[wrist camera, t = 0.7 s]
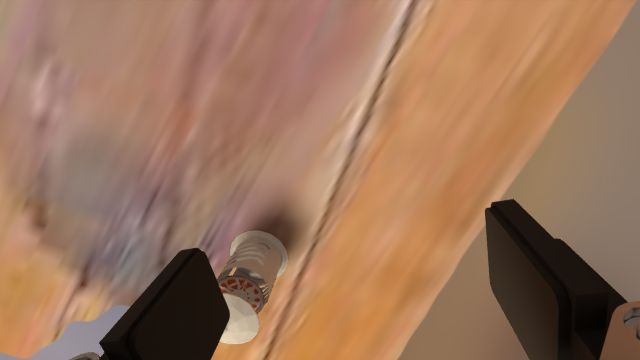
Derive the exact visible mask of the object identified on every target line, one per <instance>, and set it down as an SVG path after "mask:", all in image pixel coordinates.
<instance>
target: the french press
mask: <svg viewBox="0 0 640 360" xmlns="http://www.w3.org/2000/svg"><path fill="white" fill-rule="evenodd" d="M230 255H231V258H230V259H229V261H228V262H227V264H226V266H225V267H224V269H223V270H222V272H221V274H220V275H219V277H218V279H217V282H218V284H219V286H220V289H221V291H222V294H223V296H224V298H225V301H226V303H227V305H228V308H229V311H230V319H229V322H228V324H227V326H226V328H225V330H224V333H223V335H222V337H221V339H220V342H223V343H227V344H242V343H245V342H247V341H250V340H251V339H252V338H253V337H254V336H255V335H256V334H257V332H258V328H259V320H258V316H257V314H258V313H259V312H260V311H261V310H262V308H263V306H264V305H265V304H266V303H267V302H268V299H269V296H270V294H271V291H272V288H273V286H274V282H275V280H276V277H279V276H280V275H281V274H282V273H283V272H284V271H285V270H286V267H287V263H288V255H287V250H286V248H285V247H284V246H283V244H282V243H281V241H280V240H279V239H277V238H276V237H274V236H273V235H271V234H270V233H266V232H263V231H259V230H256V231H246V232H244V233H242V234H240V235H238V236H237V237H236V239H235V240H234V241H233V243H232V244H231V250H230ZM233 267H236V268H237V269H236V271H235V272H234V274H233V276H228V275H229V274H230V272H231V270H232V269H233ZM266 284H267V285H266ZM263 285H266V286H265V287H263V288H260V287H259V286H263ZM267 287H268V288H267ZM265 288H267V289H266V290H265V291H264V292H262V291H263V290H264V289H265ZM267 290H269V291H268V292H267V293H266V294H264V293H265V292H266V291H267ZM268 293H269V294H268ZM263 294H264V295H263ZM267 294H268V296H267V297H266V298H265V299H264V297H265V296H266V295H267Z"/></svg>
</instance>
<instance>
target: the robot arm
mask: <svg viewBox="0 0 640 360" xmlns="http://www.w3.org/2000/svg"><path fill="white" fill-rule="evenodd" d="M485 219H486V234H487V247H488V261H489V262H488V263H489V277H490V285H491V288H492V291H493V293H494V295H495V297H496V299H497V301H498V302H499V304H500V306H501V308H502V310H503V312H504V313H505V315H506V317H507V319H508V320H509V323H510V324H511V326H512V328H513V330H514V332H515V333H516V335H517V337H518V339H519V341H520V343H521V345H522V346H523V348H524V350H525V352H526V353H527V355H528V357H529V359H530V360H640V301H635V302H627V301H626V300H625V299H624V298H623V297H622V296H621V295H620V294H619V293H618V292H616V291H615V289H613V288H612V287H611V286H610V285H609V284H608V283H607V282H606V281H605V280H604V279H603V278H602V277H601V276H600V275H599V274H598V273H596V272H595V271H594V270H593V269H592V268H591V267H590V266H589V265H588V264H587V263H586V262H585V261H584V260H583V259H582V258H581V257H579V255H578V254H576V253H575V252H574V251H573V250H572V249H571V248H570V247H569V246H568V245H567V244H566V243H565V242H564V241H562V240H561V239H557V238H556V239H554V238H553V237H552V236H551V235H550V234H549V233H548V232H547V231H546V230H545V229H544V228H543V227H542V226H541V225H540V224H538V222H536V220H535V219H533V218H532V217H531V216H530V215H529V214H528V213H527V212H526V211H525V210H524V209H523V208H522V207H521V206H520V205H519V204H518V203H517V202H516V201H515V200H514V199H511V200H504V201H498V202H492V204H491V207H490V208H486V209H485ZM229 319H230V311H229V308H228V305H227V303H226V301H225V298H224V296H223V294H222V291H221V289H220V286H219V284H218V282H217V279H216V277H215V275H214V272H213V270H212V267H211V265H210V263H209V260H208V258H207V256H206V254H205V252H203V251H201V250H200V249H199V248H192V249H186V250H181V251H180V252H179V253H178V254H177V255H176V256H175V257H174V258H173V259H172V261H171V262H170V263H169V264H168V265H167V266H166V267H165V268H164V270H163V271H162V272H161V273H160V274H159V275H158V276H157V278H156V279H155V280H154V281H153V282H152V283H151V284H150V286H149V287H148V288H147V289H146V290H145V291H144V292H143V293H142V295H141V296H140V297H139V298H138V299H137V300H136V301H135V303H134V304H133V305H132V306H131V307H130V308H129V309H128V310H127V312H126V313H125V314H124V315H123V316H122V317H121V318H120V320H119V321H118V322H117V323H116V324H115V325H114V326H113V328H112V329H111V330H110V331H109V332H108V333H107V334H106V335H105V337H104V338H103V339H102V340H101V341H100V342H99V344H100V345H101V347H102V349H103V350H104V354H103V355H102V356H101V357H99V355H98V354H96V353H94V352H88V353H85V354H81V355H78V356H76V357H74V358H72V359H70V360H211V358H212V356H213V354H214V351H215V349H216V347H217V345H218V343H219V341H220V339H221V337H222V335H223V333H224V330H225V328H226V326H227V324H228V322H229Z"/></svg>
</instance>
